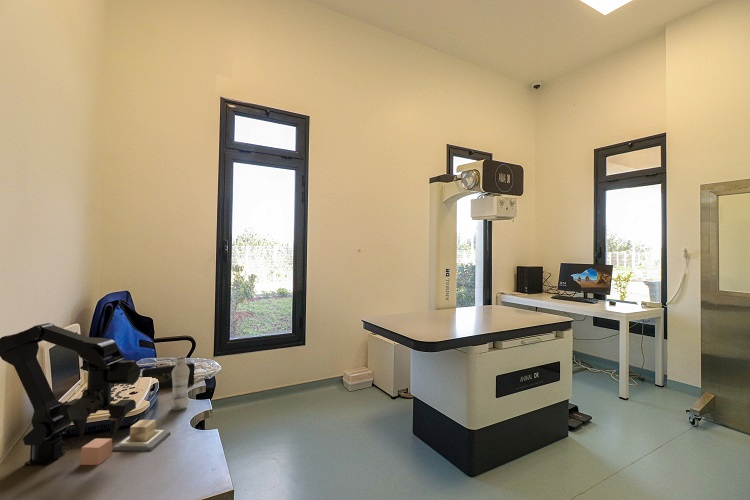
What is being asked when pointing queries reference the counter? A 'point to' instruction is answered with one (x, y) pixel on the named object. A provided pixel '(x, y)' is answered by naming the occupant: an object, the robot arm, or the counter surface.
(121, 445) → the baseplate
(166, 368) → the nameplate
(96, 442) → the terracotta block
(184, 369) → the plastic bottle
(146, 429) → the maple block
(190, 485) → the counter surface
